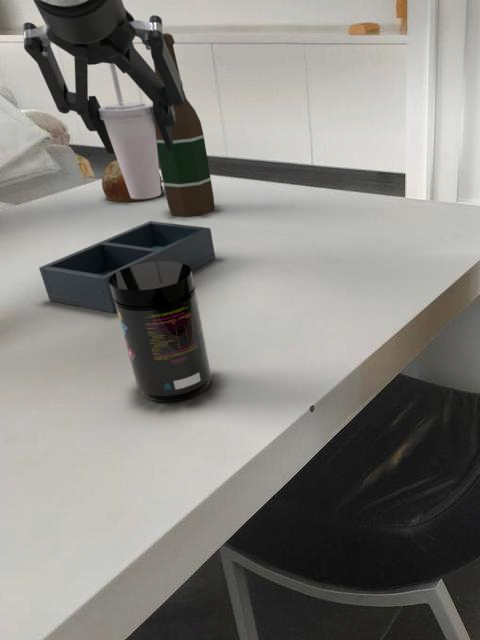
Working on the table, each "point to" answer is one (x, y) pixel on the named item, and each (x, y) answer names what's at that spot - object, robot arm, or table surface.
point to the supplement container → (162, 329)
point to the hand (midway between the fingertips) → (140, 141)
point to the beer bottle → (185, 159)
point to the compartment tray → (123, 261)
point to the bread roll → (118, 184)
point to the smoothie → (133, 143)
